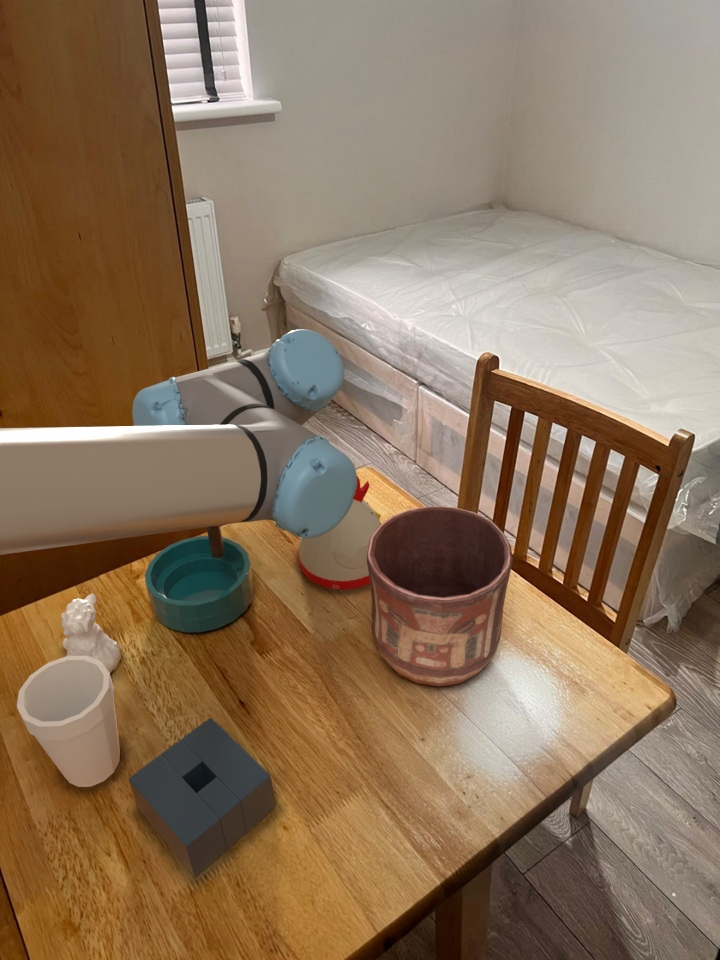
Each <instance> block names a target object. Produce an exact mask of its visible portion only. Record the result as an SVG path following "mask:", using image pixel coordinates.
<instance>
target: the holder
mask: <svg viewBox="0 0 720 960" xmlns="http://www.w3.org/2000/svg"><path fill="white" fill-rule="evenodd" d="M128 782H129V784H130V785H129V786H130V788H131V790H132V793H133V796H134V799H135V803H136V806H137V807H138V811H139V812H140V813H141V814H142V816H143V817H144V818H145V819H146V820H147V822H148V823H149V824H150V826H152V828H153V829H154V830H155V831H156V833H157V834H158V835H159V836H160V837H161V839H162V840H163V841H164V842H165V844H166V845H167V847H169V848H170V850H171V851H172V852H173V853H174V854H175V856H176V857H177V859H178V860H179V861H180V862H181V863H182V864H183V865H184V867H185V868H186V869H187V871H188V872H189V873H190V874H191V875H192V877H193V878H195V879H197V877H199V876H200V875H201V874H203V872H204V871H206V870H207V869H208V868H209V867H210V866H211V865H213V863H215V862H216V861H217V860H218V859H219V858H220V857H221V856H222V855H224V854H225V853H226V852H227V851H228V850H229V849H230V848H231V847H232V846H234V845H235V844H236V843H237V842H238V841H239V840H240V839H242V838H243V837H244V836H245V835H246V834H247V833H248V832H249V831H251V830H252V829H253V828H254V827H255V826H256V825H257V824H259V823H260V822H261V821H262V820H263V819H264V818H266V817H267V816H268V815H269V814H270V813H271V812H272V811H273V810H275V809H276V802H275V801H276V800H275V795H274V789H273V782H272V776H271V774H270V773H269V772H268V771H267V770H265V768H263V766H262V765H261V764H259V762H257V761H256V759H254V757H252V756H251V755H250V754H249V753H248V752H247V751H246V749H244V748H243V747H242V746H241V745H240V744H239V743H238V742H237V741H236V740H235V739H234V738H233V737H232V736H231V735H230V734H229V733H228V732H227V731H225V729H224V728H223V727H221V725H219V723H217V722H216V720H214V719H213V718H212V717H209V718H207V719H206V720H205V721H203V722H202V723H201V724H199V725H198V726H196V727H194V728H193V730H191V731H190V732H189V733H187V734H186V735H185V736H184V737H182V738H181V739H179V740H178V741H177V742H175V743H174V744H172V745H171V746H170V747H168V748H167V749H166V750H164V751H163V752H162V753H161V754H159V755H157V756H156V757H155V758H154V759H152V760H151V761H149V762H148V763H147V764H145V765H144V766H143V767H141V768H140V769H139V770H137V771H136V772H135V773H134V774H132V775H131V776H129V777H128Z"/></svg>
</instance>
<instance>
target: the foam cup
mask: <svg viewBox="0 0 720 960" xmlns="http://www.w3.org/2000/svg"><path fill="white" fill-rule="evenodd" d="M113 683H114V682H113V679H112V677H111V673H109V672H108V670H107V669H106V667H105V666H104V665H103V663H102V662H101V661H99V660H97V659H94V658H92V657H89V656H67V655H65V656H64V657H61V658H57V659H54V660H51V661H49V662H47V663H45V664H44V665H42V666H41V667H40V668H38V669H37V670H36V671H34V672H33V673H31V674H30V675H29V676H28V678H27V679H26V681H25V682H24V683H23V684H22V686H21V688H19V690H18V694H17V695H18V696H17V700H16V701H17V702H16V709H17V711H18V713H19V716H20V718H21V720H22V722H23V724H24V725H25V727H26V729H27V731H28V733H29V734H30V735H32V736H34V738H35V739H36V740H37V742H38V743H39V744H40V746H41V747H42V748H43V750H44V752H45V753H46V754H47V755H48V757H49V758H50V760H51V761H52V763H53V764H54V765H55V766H56V768H57V769H58V770H59V772H60V773H61V775H62V776H63V777H64V778H65V780H66V781H67V782H68V783H69V784H71V785H73V786H75V787H78V788H92V787H94V786H96V785H98V784H101V783H103V782H105V781H106V780H107V779H108V778H109V777H110V776H112V775H113V774H114V773H115V771H116V769H117V767H118V766H119V764H120V761H121V759H120V758H121V750H120V740H119V732H118V724H117V716H116V710H115V709H116V708H115V700H114V697H115V695H114V694H115V685H114V684H113Z"/></svg>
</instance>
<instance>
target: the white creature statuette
mask: <svg viewBox="0 0 720 960" xmlns="http://www.w3.org/2000/svg"><path fill="white" fill-rule="evenodd" d="M97 601H98V600H97V597H96V595H95V593H90V594H89V595H87V596H86V597H84V599H82V598H80V597H77V598H75V599H72V600H71V602H69V603H68V604H67V606H66V607H65V612H62V613H61V614H60V617H61V628H63V629H64V630H63V631H62V634H63V635H64V636H67V637H65V638H64V639H63V641H62V645H61V646H62V648H63V649H65V650H66V656H89V657H92V658H94V659H97V660H99V661H101V662H102V663H103V665H104V666H105V667H106V669H107V670H108V672H109V673H110V674H111V673H112V672H113V671H114V670H115V669H117V667H118V664H119V662H120V660H121V657H122V656H121V655H122V654H121V651H120V645H119V644H118V643H117V641H116V640H115V639H112V638H111V637H110V636H109V635H108V634H106V632H104V629H102V628H101V626H100V624H98V623H96V620H97V611H96V609H95V605H96V603H97Z"/></svg>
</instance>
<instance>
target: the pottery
mask: <svg viewBox="0 0 720 960" xmlns="http://www.w3.org/2000/svg"><path fill="white" fill-rule="evenodd" d="M513 560H514V557H513V550H512V545H511V543H510V542H509V540H508V538H507V536H506V534H505V532H503V531H502V530H501V528H500V527H499V526H498V525H497V524H496V523H495V522H494V521H492V520H491V519H488V518H486V517H485V516H483V515H481V514H479V513H477V512H474V511H471V510H466V509H464V508H463V509H462V508H458V507H453V506H442V505H441V506H440V505H429V506H422V507H421V506H420V507H415V508H410V509H407V510H404V511H402V512H400V513H397V514H394V515H391V516H390V517H389V518H388V519H386V520H384V521H383V522H382V523H381V525H379V527H378V528H377V529H376V531H375V532H374V534H373V535H372V536H371V538H370V539H369V545H368V552H367V566H368V571H369V577H370V583H369V584H370V594H371V595H370V596H371V616H370V617H371V619H370V620H371V621H370V627H371V635H372V637H373V639H374V642H375V645H376V648H377V650H378V653H379V655H380V656H381V657H382V658H383V660H385V662H386V663H387V664H388V665H389V666H390V667H391V668H392V669H393V670H394V671H395V672H396V673H397V674H398V675H399V676H401V677H403V678H405V679H407V680H409V681H412V682H413V683H415V684H421V685H427V686H428V685H429V686H435V687H444V686H451V685H457V684H461V683H463V682H464V681H466V680H468V679H470V678H472V677H474V676H476V675H477V674H478V673H480V672H481V671H482V670H483V669H484V668H485V667H486V666H487V665H488V664H489V662H490V661H492V659H493V658H494V656H495V654H496V651H497V648H498V646H499V643H500V640H501V635H502V629H503V613H504V605H505V600H506V596H507V595H506V594H507V589H508V584H509V580H510V576H511V571H512V566H513V562H514V561H513Z"/></svg>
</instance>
